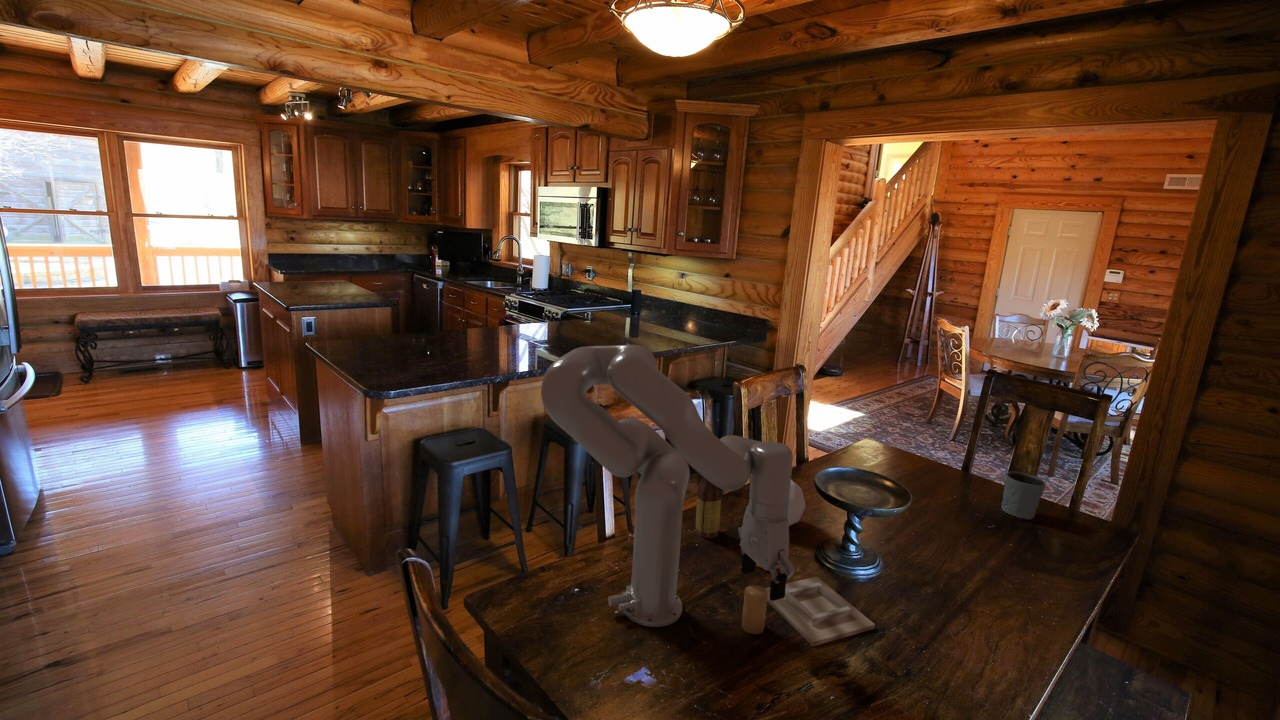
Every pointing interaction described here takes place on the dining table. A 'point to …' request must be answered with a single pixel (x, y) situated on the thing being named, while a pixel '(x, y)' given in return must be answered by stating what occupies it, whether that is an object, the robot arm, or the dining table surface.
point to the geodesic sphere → (795, 503)
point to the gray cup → (1022, 494)
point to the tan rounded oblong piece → (754, 609)
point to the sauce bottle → (708, 509)
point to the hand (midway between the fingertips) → (762, 584)
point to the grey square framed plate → (819, 612)
